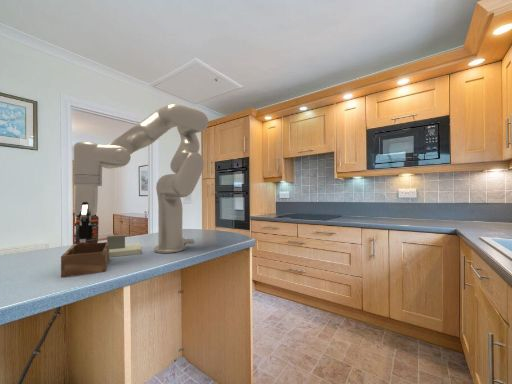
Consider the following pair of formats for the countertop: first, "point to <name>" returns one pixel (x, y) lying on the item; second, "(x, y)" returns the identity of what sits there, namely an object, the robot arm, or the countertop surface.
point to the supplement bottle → (94, 232)
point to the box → (85, 259)
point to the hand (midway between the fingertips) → (87, 236)
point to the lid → (122, 246)
